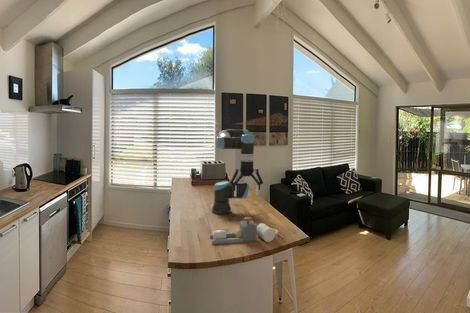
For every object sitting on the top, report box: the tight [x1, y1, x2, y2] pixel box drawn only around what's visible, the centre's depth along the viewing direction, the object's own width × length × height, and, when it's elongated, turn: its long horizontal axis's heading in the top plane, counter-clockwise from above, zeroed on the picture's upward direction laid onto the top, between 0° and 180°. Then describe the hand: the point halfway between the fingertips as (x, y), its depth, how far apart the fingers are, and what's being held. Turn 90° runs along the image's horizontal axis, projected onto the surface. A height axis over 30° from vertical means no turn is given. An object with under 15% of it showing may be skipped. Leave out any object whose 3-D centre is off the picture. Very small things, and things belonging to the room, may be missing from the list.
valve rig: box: [209, 216, 258, 245], centre depth 159 cm, size 10×26×13 cm, turn 102°
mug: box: [256, 223, 279, 243], centre depth 164 cm, size 12×10×8 cm
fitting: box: [212, 229, 227, 240], centre depth 157 cm, size 6×7×6 cm
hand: (246, 195), depth 162 cm, fingers open, 13 cm apart
